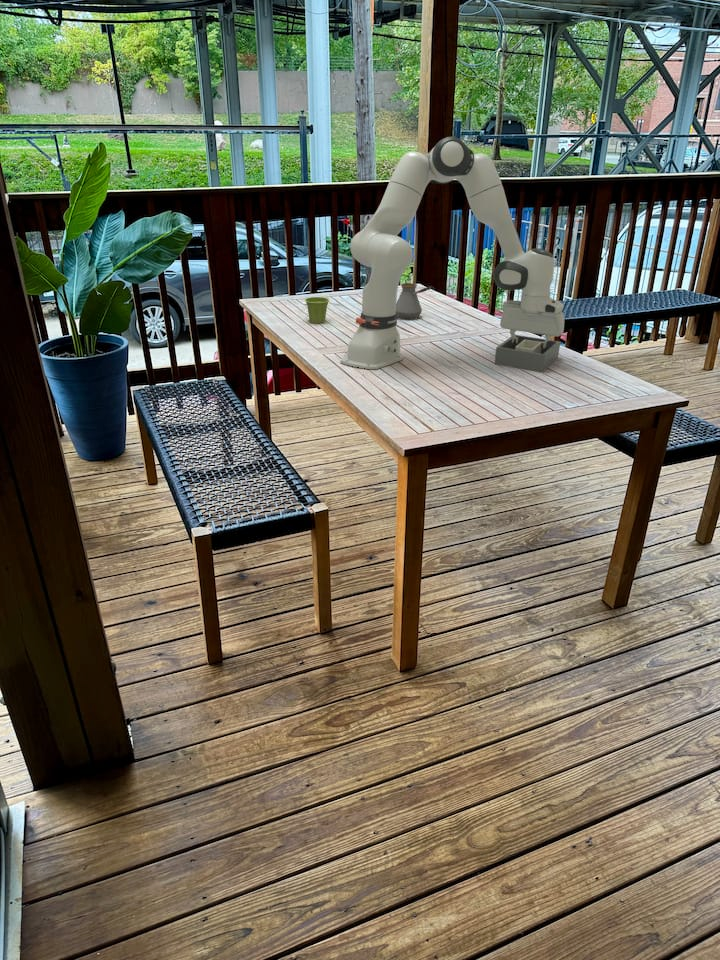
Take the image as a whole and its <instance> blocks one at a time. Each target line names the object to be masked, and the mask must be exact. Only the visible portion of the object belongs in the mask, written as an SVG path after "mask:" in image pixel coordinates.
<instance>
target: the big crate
mask: <svg viewBox="0 0 720 960" xmlns="http://www.w3.org/2000/svg"><path fill="white" fill-rule="evenodd" d="M515 336H516V337H517V338H518V343H517V344H513V343H512V339H513V338H512V337H511V336H510V337H509V338H507V339H506V340H504V341H503V342H501V344H499V345H498V346H496V349H495V355H494V356H495V357H494V365H498V366H503V367H508V368H512V369H514V368H515V369H521V370H525V371H531V372H537V373H541V372H543V373H544V372H545V371H546V370H547V369H548V368H549V367H551V365H553V364H554V363H555V362H556V361H557V360H558V359H559V354H560V347H561V341H559V340H552V339H549V340H548V342H547V343H546V348H541V354H540V353H534V352H528V351H522V350H516V349H515V347H516V346H517V345H518V344H520V343H521V342H522V341H523V340H532V341H538V342H542V341H543V342H544V341H545V340H546V339H547V338H538V337H533V336H526V335H519V334H515Z"/></svg>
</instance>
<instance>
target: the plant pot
mask: <svg viewBox="0 0 720 960" xmlns="http://www.w3.org/2000/svg"><path fill="white" fill-rule="evenodd" d="M304 302H305V304H306V306H307V313H308V314H307V315H308V319H309V322H310V323H311V324H318V323H319V324H324V323H325V322H326V318H327V317H326V316H327V310H328V305H329V304H328V303H329V302H330V298H328V297H324V296H313V297H312V296H311V297H307V298H305V299H304Z"/></svg>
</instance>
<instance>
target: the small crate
mask: <svg viewBox="0 0 720 960" xmlns="http://www.w3.org/2000/svg"><path fill="white" fill-rule="evenodd" d="M540 346H541V342H538V341H532V340H523V341H522V342H521V343H520V344H518V345H517V346H516V347H515V349H516V350H522V351H528V352H534V353H540V354H541V348H540Z"/></svg>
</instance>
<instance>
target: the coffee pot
mask: <svg viewBox="0 0 720 960" xmlns="http://www.w3.org/2000/svg"><path fill="white" fill-rule="evenodd" d="M400 286H401V288H402V290H401V292H400V295H399V296H398V299H397V300H396V313H397V318H399V319H402V318H403V320H413V319H412V318H415V319H417V318H418V317H419V316H420V315H421V314H422V312H423V309H422V306H421V302H420V300H419V298H418V294H421V293H423V292H427V291H430V292H432V293H433V292H434V290H432V289H433V286H432V285H431V286H427V287H424V288H421V289H419V290H417V291H416V288H417V287H418V285H417V283H412V282H409V283H408V282H406V283H401V284H400ZM430 289H431V290H432V291H431V290H430ZM416 317H417V318H416Z"/></svg>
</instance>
